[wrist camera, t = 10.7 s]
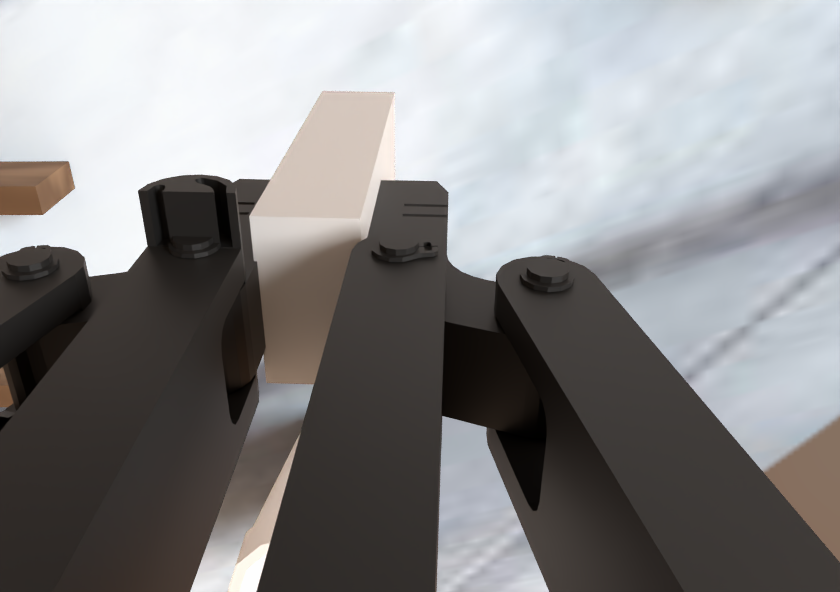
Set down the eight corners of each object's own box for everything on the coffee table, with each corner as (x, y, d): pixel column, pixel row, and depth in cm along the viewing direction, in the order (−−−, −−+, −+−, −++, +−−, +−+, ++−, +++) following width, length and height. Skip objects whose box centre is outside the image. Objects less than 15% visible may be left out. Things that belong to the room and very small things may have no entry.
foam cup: (389, 512, 56) (372, 676, 45) (263, 477, 55) (213, 635, 44) (433, 411, 52) (426, 563, 40) (297, 370, 51) (251, 515, 39)
